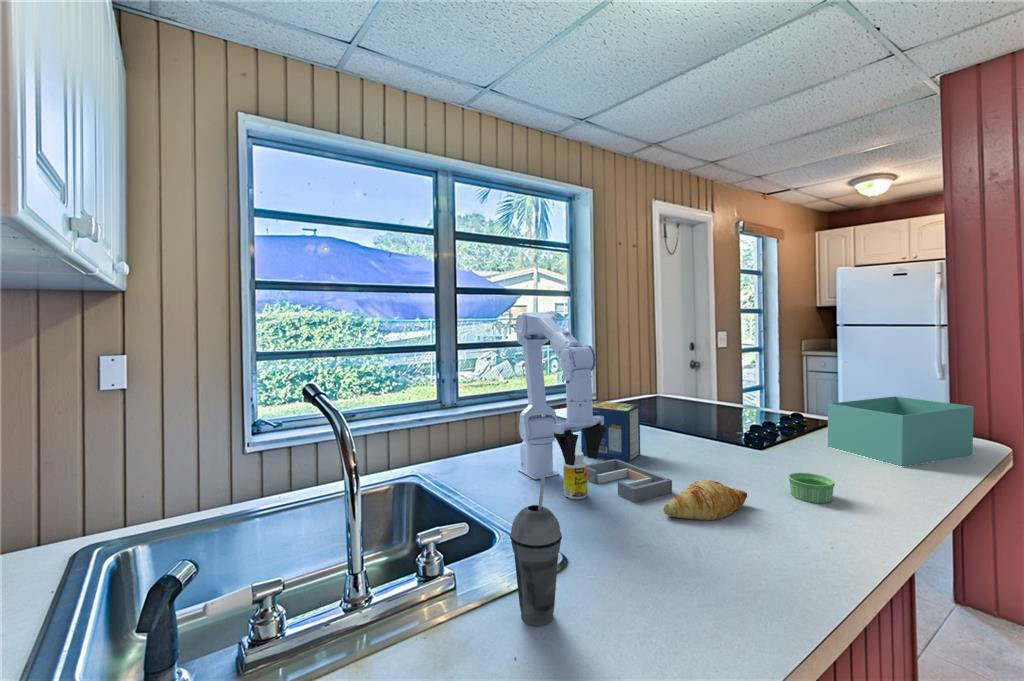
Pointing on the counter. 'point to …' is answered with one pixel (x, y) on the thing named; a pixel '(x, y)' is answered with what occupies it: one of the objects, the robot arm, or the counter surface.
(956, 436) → the box
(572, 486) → the supplement bottle
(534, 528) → the beverage cup
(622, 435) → the protein box
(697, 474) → the counter surface
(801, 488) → the ramekin
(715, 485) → the croissant
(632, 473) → the frame
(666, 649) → the counter surface
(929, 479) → the counter surface
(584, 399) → the robot arm
